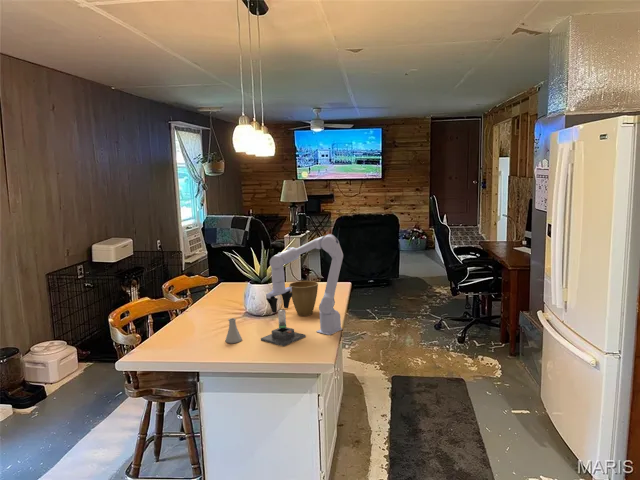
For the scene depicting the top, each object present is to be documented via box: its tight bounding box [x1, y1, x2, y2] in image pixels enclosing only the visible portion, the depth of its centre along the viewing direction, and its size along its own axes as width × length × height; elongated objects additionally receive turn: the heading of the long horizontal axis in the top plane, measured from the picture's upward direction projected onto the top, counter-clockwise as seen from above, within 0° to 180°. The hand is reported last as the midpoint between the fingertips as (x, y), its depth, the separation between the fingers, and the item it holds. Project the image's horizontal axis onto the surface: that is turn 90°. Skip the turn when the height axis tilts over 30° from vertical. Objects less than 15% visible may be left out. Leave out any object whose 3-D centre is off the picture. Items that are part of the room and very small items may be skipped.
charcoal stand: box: [260, 326, 307, 347], centre depth 213 cm, size 14×14×4 cm
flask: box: [225, 317, 243, 344], centre depth 214 cm, size 7×7×10 cm
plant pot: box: [288, 280, 319, 317], centre depth 248 cm, size 15×15×16 cm
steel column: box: [277, 308, 287, 329], centre depth 212 cm, size 3×3×8 cm
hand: (280, 310), depth 221 cm, fingers open, 7 cm apart
